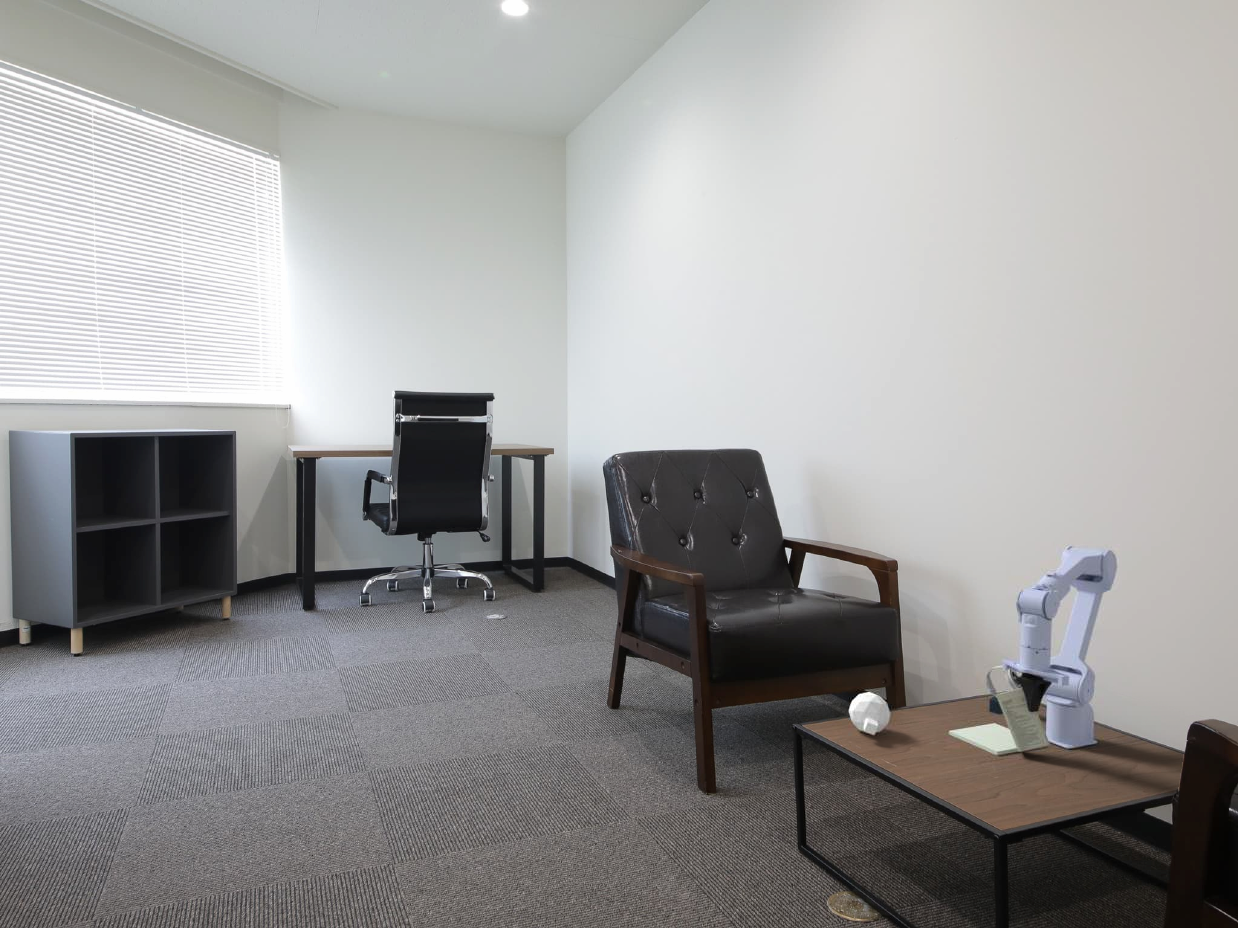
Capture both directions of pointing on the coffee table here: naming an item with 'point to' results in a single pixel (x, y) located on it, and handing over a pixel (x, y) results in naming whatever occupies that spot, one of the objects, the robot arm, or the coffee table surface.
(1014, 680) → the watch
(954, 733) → the mat
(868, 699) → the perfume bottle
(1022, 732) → the skincare box
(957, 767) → the coffee table surface
